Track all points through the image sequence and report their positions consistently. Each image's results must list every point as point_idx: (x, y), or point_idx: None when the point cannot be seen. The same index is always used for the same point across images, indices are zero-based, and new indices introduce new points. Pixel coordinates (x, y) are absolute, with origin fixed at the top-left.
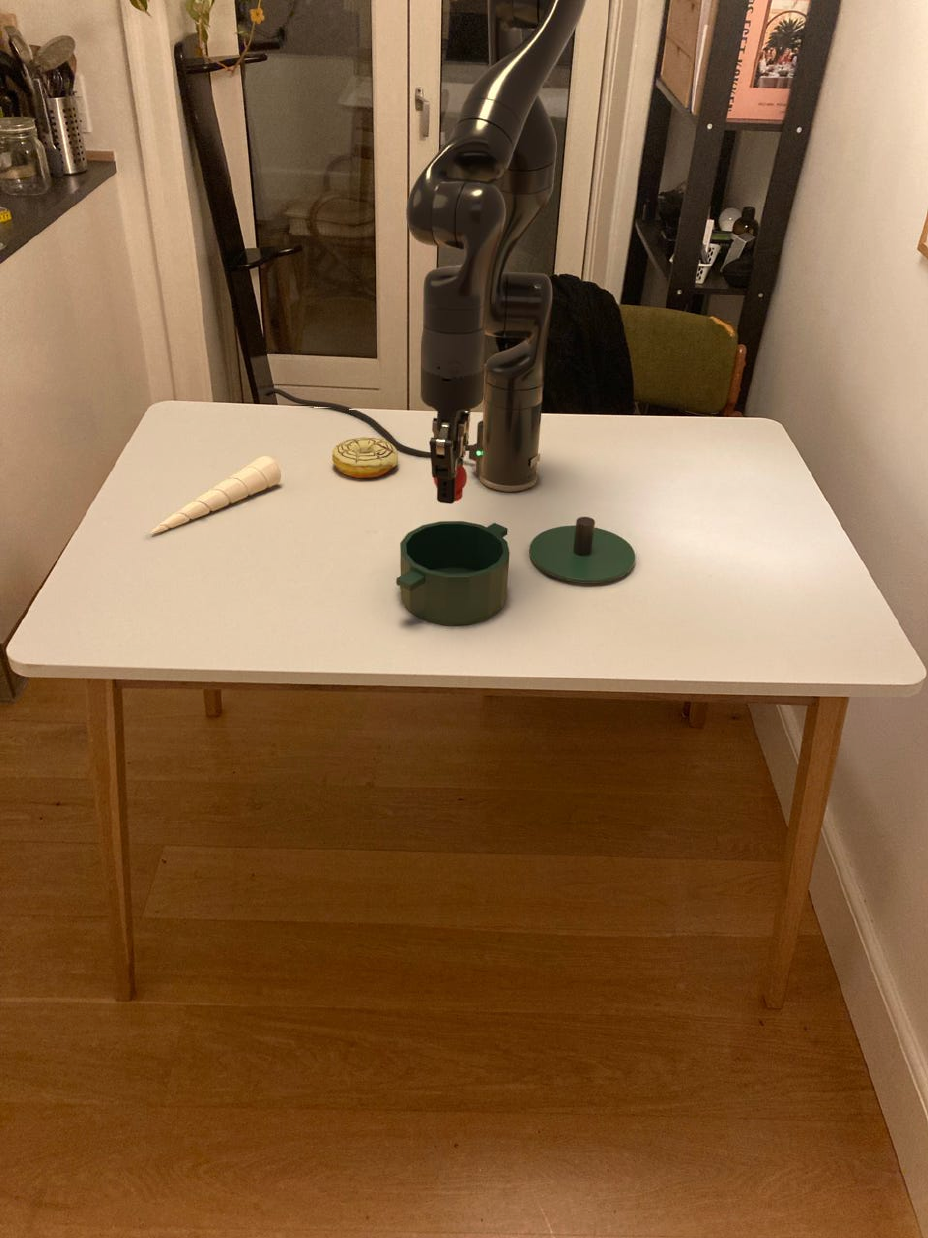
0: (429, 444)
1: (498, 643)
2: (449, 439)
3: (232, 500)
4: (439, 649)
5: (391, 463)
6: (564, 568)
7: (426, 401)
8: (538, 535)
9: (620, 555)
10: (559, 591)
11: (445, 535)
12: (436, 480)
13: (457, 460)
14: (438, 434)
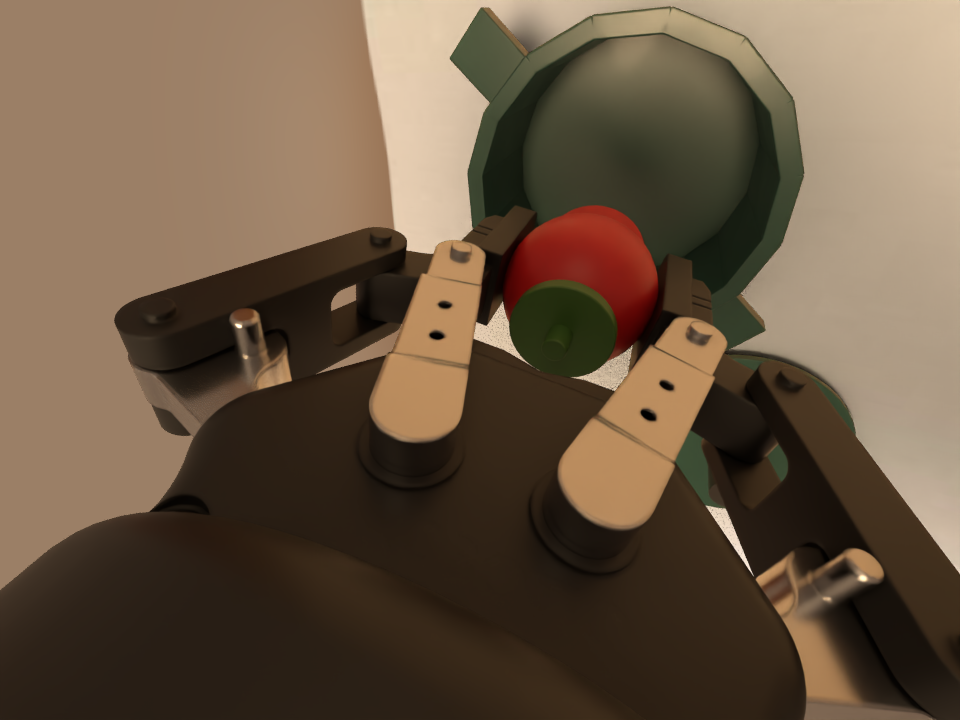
0: (159, 297)
1: (462, 237)
2: (173, 425)
3: None
4: (436, 122)
5: None
6: None
7: (41, 560)
8: (829, 394)
9: (693, 484)
10: (615, 367)
11: (769, 178)
12: (540, 228)
13: (563, 363)
14: (287, 382)
